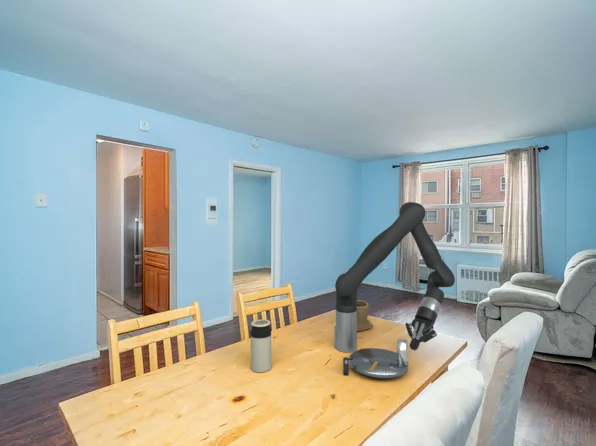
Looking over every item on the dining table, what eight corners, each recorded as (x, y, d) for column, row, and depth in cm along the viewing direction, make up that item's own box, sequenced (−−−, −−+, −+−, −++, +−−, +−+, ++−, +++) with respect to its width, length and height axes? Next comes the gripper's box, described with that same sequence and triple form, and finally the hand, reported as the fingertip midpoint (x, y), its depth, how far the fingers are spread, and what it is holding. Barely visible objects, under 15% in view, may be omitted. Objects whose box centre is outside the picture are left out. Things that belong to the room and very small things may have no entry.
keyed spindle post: (342, 374, 119) (342, 358, 119) (373, 359, 131) (373, 344, 131) (370, 387, 109) (370, 370, 109) (400, 370, 122) (400, 354, 122)
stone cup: (355, 335, 158) (355, 305, 157) (341, 328, 168) (341, 300, 168) (379, 330, 164) (379, 301, 164) (365, 323, 175) (364, 296, 175)
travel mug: (275, 367, 125) (275, 322, 124) (260, 375, 119) (259, 327, 118) (262, 361, 130) (261, 317, 130) (246, 368, 124) (246, 322, 124)
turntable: (337, 362, 124) (337, 335, 123) (371, 347, 138) (371, 323, 138) (386, 385, 107) (386, 354, 107) (419, 364, 121) (419, 337, 121)
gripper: (409, 302, 133) (393, 339, 125) (441, 309, 123) (425, 349, 115) (416, 312, 137) (400, 348, 129) (447, 320, 127) (432, 359, 119)
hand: (412, 349), depth 122 cm, fingers closed
